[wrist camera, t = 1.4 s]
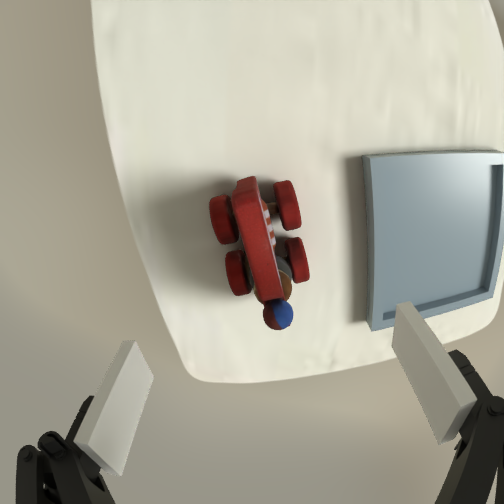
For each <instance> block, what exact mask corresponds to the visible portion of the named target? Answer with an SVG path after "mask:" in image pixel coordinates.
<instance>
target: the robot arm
mask: <svg viewBox="0 0 504 504" xmlns="http://www.w3.org/2000/svg"><path fill="white" fill-rule="evenodd" d="M392 348H393V350H394V352H395V354H396V356H397V358H398V359H399V361H400V363H401V365H402V367H403V369H404V371H405V373H406V375H407V377H408V379H409V381H410V383H411V385H412V387H413V389H414V392H415V394H416V395H417V398H418V400H419V402H420V404H421V406H422V408H423V411H424V413H425V415H426V417H427V419H428V422H429V424H430V426H431V428H432V431H433V433H434V435H435V437H436V440H437V442H438V445H441V444H443V443H446V442H448V441H450V440H452V439H454V438H455V437H456V435H457V434H458V432H459V433H460V435H461V437H462V438H461V439H460V441H459V442H458V444H457V445H456V447H455V449H454V450H456V449H457V451H456V454H455V456H454V459H453V462H452V464H451V467H450V470H449V472H448V475H447V477H446V479H445V482H444V484H443V486H442V489H441V491H440V493H439V496H438V498H437V500H436V502H435V504H486V502H487V499H488V496H489V493H490V490H491V487H492V484H493V481H494V478H495V474H496V471H497V467H498V472H497V487H496V496H495V504H504V399H503V398H501V397H499V396H493V395H492V394H491V393H490V391H489V390H488V388H487V386H486V385H485V383H484V382H483V380H482V379H481V377H480V376H479V374H478V373H477V372H476V371H475V369H474V367H473V366H472V365H471V363H470V361H469V360H468V359H467V357H466V356H465V355H464V354H462V353H461V352H459V351H458V350H454V351H451V352H448V353H447V351H446V350H445V348H444V347H443V346H442V344H441V343H440V341H439V340H438V338H437V337H436V335H435V334H434V333H433V331H432V330H431V328H430V327H429V326H428V324H427V323H426V322H425V320H424V319H423V318H422V316H421V315H420V313H419V312H418V311H417V309H416V308H415V307H414V306H413V304H412V303H411V302H410V301H408V302H404V303H400V304H397V305H396V315H395V324H394V332H393V340H392ZM153 378H154V376H153V374H152V373H151V371H150V369H149V367H148V365H147V363H146V361H145V359H144V357H143V355H142V353H141V351H140V349H139V347H138V345H137V343H136V341H135V340H132V341H131V340H130V341H123V342H122V344H121V346H120V348H119V350H118V352H117V353H116V355H115V357H114V359H113V361H112V363H111V365H110V366H109V368H108V371H107V372H106V374H105V376H104V378H103V380H102V382H101V384H100V386H99V388H98V390H97V392H96V394H95V396H89V397H88V398H87V399H86V400H85V401H84V402H83V404H82V406H81V408H80V410H79V412H78V414H77V416H76V419H75V420H74V422H73V424H72V426H71V428H70V430H69V433H68V435H67V437H66V439H65V440H64V439H63V438H62V437H61V436H60V435H59V434H58V433H57V432H54V431H49V432H46V433H45V434H43V435H42V436H41V437H40V439H39V441H38V448H39V449H40V450H41V451H38V450H37V449H36V448H35V447H34V446H32V445H26V446H24V447H23V448H21V449H20V451H19V453H18V456H17V470H16V504H115V502H114V500H113V498H112V496H111V494H110V492H109V490H108V488H107V486H106V484H105V481H104V479H103V477H102V475H101V474H100V473H99V472H100V469H101V468H102V469H103V470H104V471H105V472H106V473H107V474H112V475H116V476H122V473H123V469H124V466H125V463H126V460H127V457H128V453H129V450H130V447H131V444H132V440H133V438H134V434H135V431H136V428H137V425H138V422H139V419H140V416H141V413H142V410H143V407H144V404H145V401H146V398H147V396H148V393H149V390H150V387H151V384H152V381H153ZM44 484H45V488H44V487H43V485H44Z"/></svg>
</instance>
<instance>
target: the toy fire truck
mask: <svg viewBox="0 0 504 504" xmlns="http://www.w3.org/2000/svg"><path fill="white" fill-rule="evenodd" d="M273 190H274V194H275V198H276V202H272V203H267V204H266V203H265V202H264V201H263V200H262V199H261V196H260V192H259V188H258V184H257V180H256V177H255V176H251V177H247V178H244V179H241V180H239V181H237V186H236V189H235V190H233V192H232V196H231V199H230V198H229V196H228V195H221V196H217V197H214V198H212V199H211V200H210V202H209V210H210V217H211V222H212V226H213V229H214V232H215V234H216V237H217V239H218V241H219V242H220V243H221V244H222V245H226V244H230V243H235V242H237V241H238V240H239V231H240V235H241V238H242V241H243V245H244V248H245V252H246V255H247V257H246V256H245V254H244V252H243V251H242V250H235V251H231V252H228V253H227V254H226V257H225V265H226V272H227V277H228V281H229V285H230V287H231V289H232V292H233V293H234V295H236V296H241V295H245V294H249V293H250V292H251V290H252V287H253V289H254V294H255V296H256V298H257V299H258V301H259V302H261V303H262V304H263V305H264V310H263V318H264V321H265V323H266V325H267V326H268V327H270V328H271V329H274V330H282V329H285V328H286V327H288V326H290V324H291V322H292V320H293V310H292V307H291V305H290V304H289V303H288V302H286V301H287V300H288V299H289V297H290V295H291V292H292V284H291V280H292V279H293V281H294V283H301V282H305V281H307V280H309V277H310V274H309V267H308V262H307V257H306V253H305V249H304V246H303V242H302V240H301V239H300V238H299V237H295V238H291V239H287V240H285V242H284V243H285V249H286V254H287V256H286V257H282V258H281V257H279V256H276V255H275V251H274V248H275V245H276V241H275V236H274V232H273V228H272V224H271V220H270V215H273V214H277V213H279V215H280V219H281V222H282V226H283V228H284V229H285V230H286V231H289V230H294V229H297V228H300V227H301V215H300V210H299V206H298V201H297V198H296V194H295V191H294V188H293V185H292V183H291V181H288V180H286V181H282V182H277V183H275V184H274V185H273Z"/></svg>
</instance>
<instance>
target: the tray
mask: <svg viewBox="0 0 504 504" xmlns="http://www.w3.org/2000/svg"><path fill="white" fill-rule="evenodd" d="M362 160H363V171H364V182H365V196H366V214H367V243H368V287H367V316H366V321H367V323H368V325H369V327H370V329H371V331H376V330H380V329H385V328H389V327H393V326H394V324H395V315H396V305H397V304H400V303H404V302H408V301H410V302H411V303H412V304H413V306H414V307H415V308H416V309H417V311H418V312H419V313H420V315H421V316H422V318H423V319H425V318H428V317H432V316H436V315H439V314H443V313H446V312H449V311H453V310H456V309H459V308H463V307H466V306H469V305H472V304H475V303H478V302H481V301H484V300H487V299H490V298H493V294H494V290H495V286H496V281H497V277H498V272H499V267H500V262H501V256H502V250H503V244H504V152H501V151H481V150H461V151H423V152H404V153H388V154H375V155H363V156H362Z"/></svg>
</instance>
